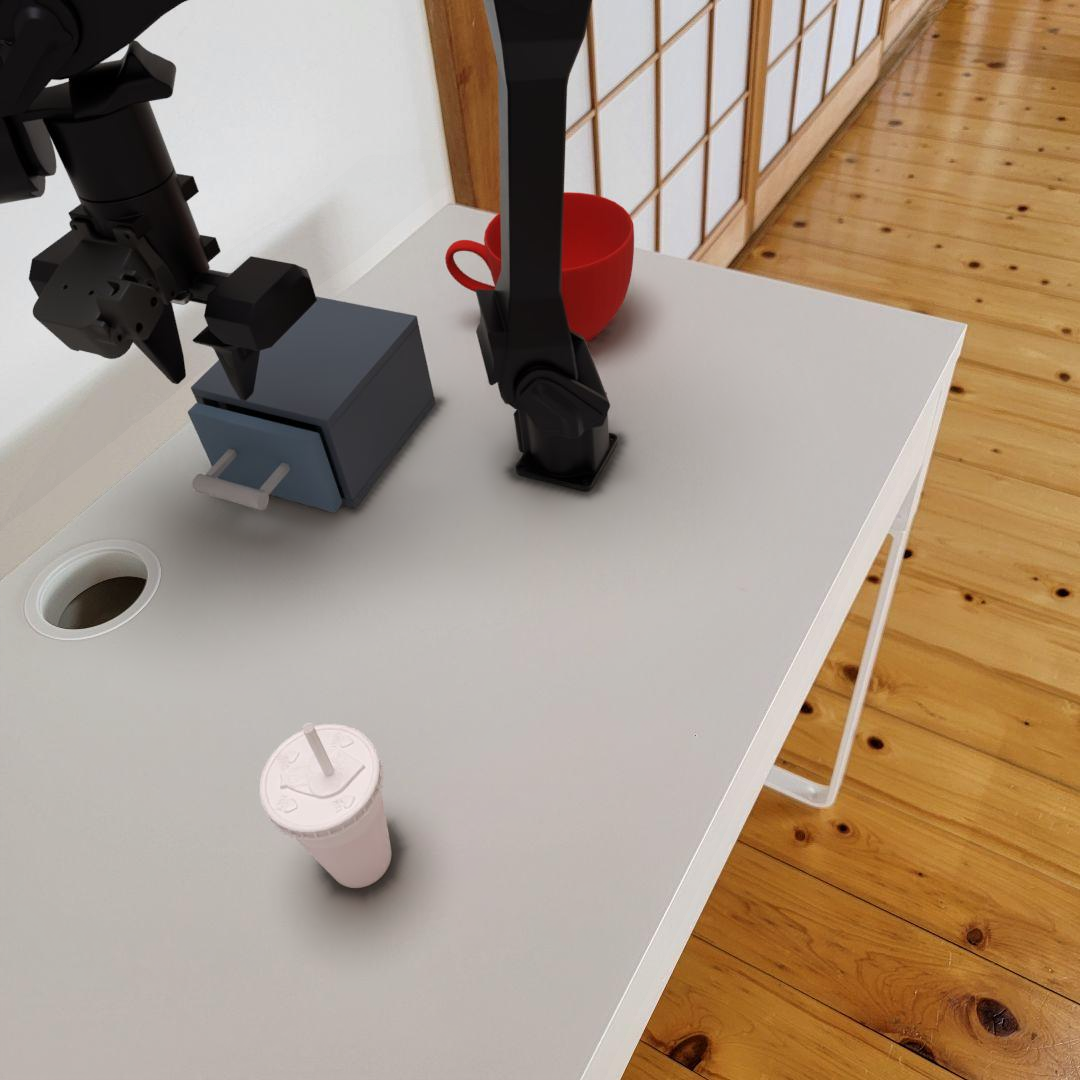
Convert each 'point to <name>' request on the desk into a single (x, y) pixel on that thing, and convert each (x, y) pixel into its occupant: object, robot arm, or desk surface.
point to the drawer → (263, 458)
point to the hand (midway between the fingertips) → (213, 388)
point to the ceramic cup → (574, 260)
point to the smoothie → (330, 800)
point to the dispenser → (342, 385)
